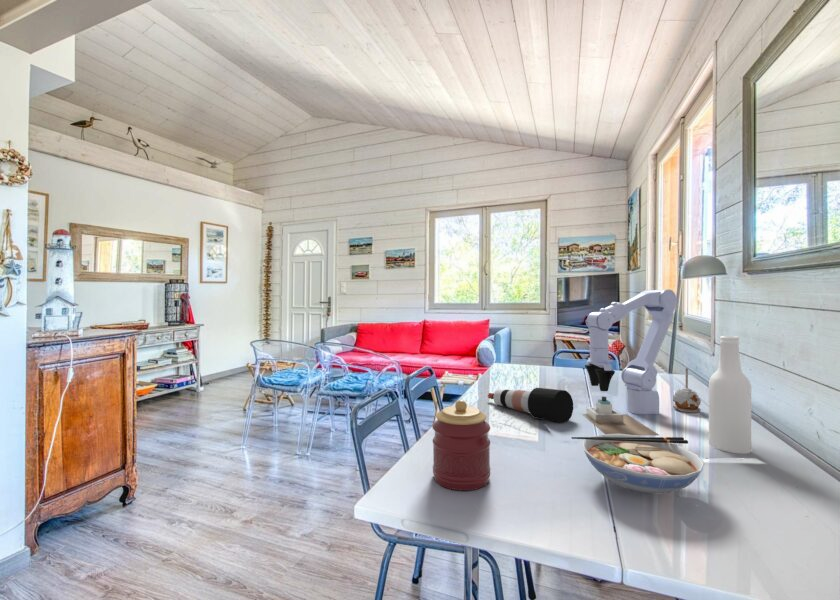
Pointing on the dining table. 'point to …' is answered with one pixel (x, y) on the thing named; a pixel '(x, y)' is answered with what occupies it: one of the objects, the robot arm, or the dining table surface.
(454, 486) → the canister
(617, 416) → the end holder
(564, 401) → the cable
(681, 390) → the caramel apple
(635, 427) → the board
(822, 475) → the dining table surface
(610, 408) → the connector plug
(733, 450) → the alcohol
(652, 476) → the ramen bowl
